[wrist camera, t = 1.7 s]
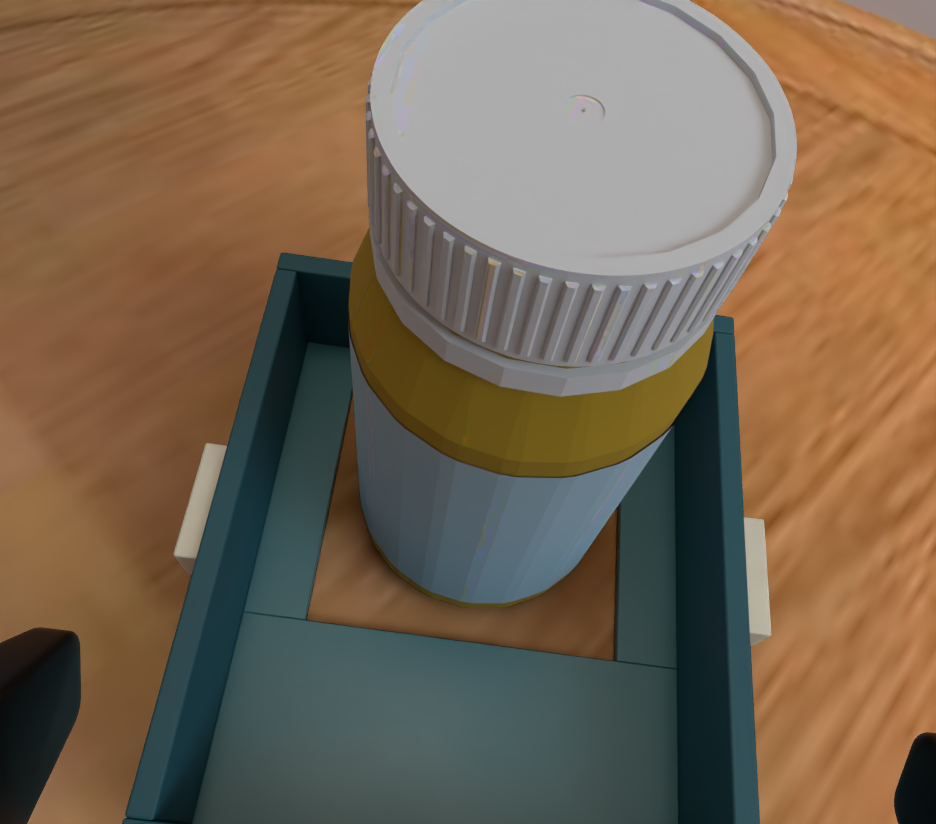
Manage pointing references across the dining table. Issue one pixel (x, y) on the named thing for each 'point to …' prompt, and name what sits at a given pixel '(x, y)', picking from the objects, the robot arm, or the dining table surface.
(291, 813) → the teal square tray
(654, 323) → the bottle
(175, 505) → the dining table surface
